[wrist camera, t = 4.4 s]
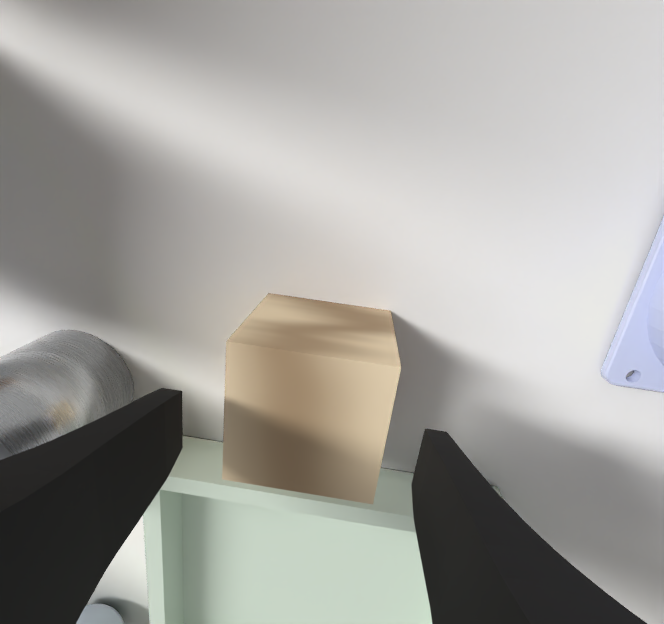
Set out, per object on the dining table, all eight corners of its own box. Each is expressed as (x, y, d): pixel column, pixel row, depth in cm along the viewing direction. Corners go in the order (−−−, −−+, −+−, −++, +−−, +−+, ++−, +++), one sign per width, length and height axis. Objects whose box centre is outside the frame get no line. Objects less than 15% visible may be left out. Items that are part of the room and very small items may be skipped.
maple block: (390, 310, 15) (401, 367, 11) (371, 414, 17) (373, 504, 12) (269, 292, 15) (226, 341, 11) (261, 397, 17) (222, 479, 12)
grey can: (130, 338, 17) (8, 419, 11) (136, 432, 18) (33, 544, 13) (22, 322, 17) (-152, 393, 11) (38, 416, 19) (-106, 519, 13)
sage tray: (497, 486, 17) (517, 534, 15) (427, 689, 23) (434, 747, 20) (169, 433, 18) (140, 471, 16) (175, 642, 23) (153, 694, 21)
